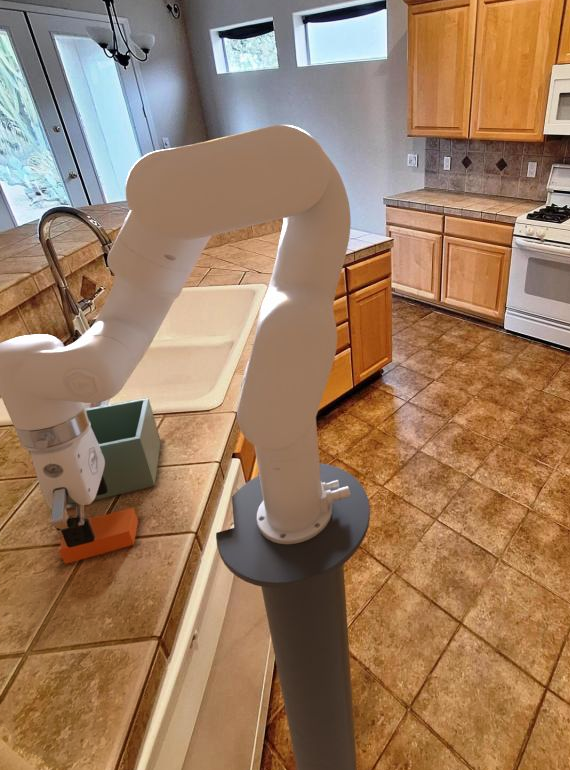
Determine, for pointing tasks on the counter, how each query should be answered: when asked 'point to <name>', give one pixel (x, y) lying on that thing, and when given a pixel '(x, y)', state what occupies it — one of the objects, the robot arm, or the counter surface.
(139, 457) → the bin
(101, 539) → the block
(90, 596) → the counter surface
